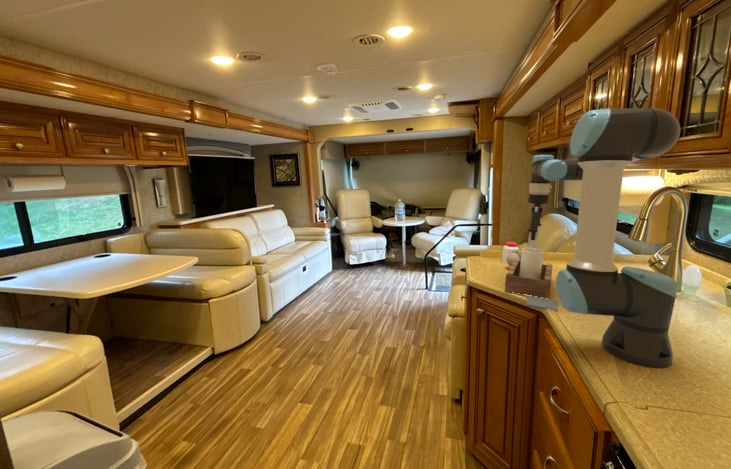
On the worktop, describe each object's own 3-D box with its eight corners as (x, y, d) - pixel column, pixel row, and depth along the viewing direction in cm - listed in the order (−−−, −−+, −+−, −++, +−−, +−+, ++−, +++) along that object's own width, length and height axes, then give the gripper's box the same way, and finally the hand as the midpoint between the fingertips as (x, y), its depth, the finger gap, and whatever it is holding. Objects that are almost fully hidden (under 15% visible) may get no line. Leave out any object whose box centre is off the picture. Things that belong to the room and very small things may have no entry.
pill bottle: (500, 263, 177) (502, 243, 174) (503, 260, 183) (505, 240, 181) (515, 265, 172) (517, 245, 170) (518, 262, 178) (520, 242, 176)
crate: (548, 299, 128) (551, 280, 126) (504, 291, 136) (506, 273, 134) (550, 280, 150) (552, 263, 148) (512, 274, 158) (514, 258, 156)
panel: (557, 311, 117) (557, 310, 117) (526, 305, 122) (526, 304, 122) (557, 302, 125) (557, 300, 125) (528, 296, 130) (528, 295, 130)
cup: (536, 290, 137) (540, 253, 134) (515, 285, 143) (519, 249, 139) (541, 285, 143) (546, 249, 140) (521, 281, 148) (525, 246, 145)
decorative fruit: (501, 267, 169) (503, 248, 167) (515, 266, 171) (517, 247, 169) (514, 273, 160) (516, 253, 158) (528, 271, 162) (530, 252, 160)
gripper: (548, 196, 123) (541, 251, 127) (550, 192, 144) (544, 239, 148) (526, 195, 126) (520, 249, 131) (531, 191, 147) (526, 237, 152)
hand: (533, 244), depth 139 cm, fingers open, 13 cm apart
